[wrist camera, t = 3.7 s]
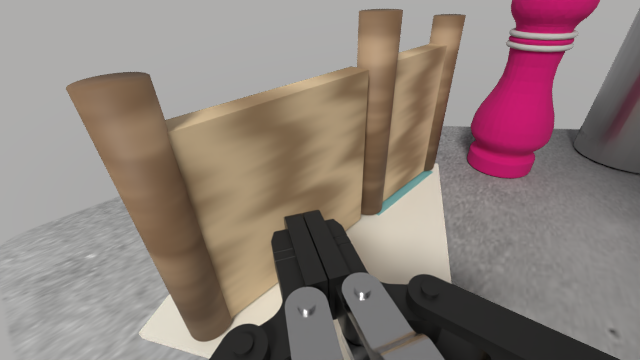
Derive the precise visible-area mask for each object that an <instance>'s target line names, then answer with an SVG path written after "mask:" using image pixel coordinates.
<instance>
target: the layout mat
mask: <svg viewBox="0 0 640 360" xmlns="http://www.w3.org/2000/svg"><path fill="white" fill-rule="evenodd" d="M345 232H346V234H347V236H348V237H349V239H350V241H351V243H352V244H353V246H354V248H355V250H356V252H357V254H358V255H359V257H360V259H361V261H362V263H363V264H364V266H365V268H366V270H367V271H368V273H369V274H371V275H373V276H374V277H376V278H377V279H378V280H379V281H380V282H383V283H388V284H408V283H409V281H410V280H411V278H413V277H414V276H416V275H420V274H429V275H433V276H435V277H438V278H440V279H442V280H444V281H446V282H449V283H451V275H450V266H449V257H448V248H447V239H446V230H445V221H444V212H443V204H442V195H441V186H440V177H439V168H438V164H434V168H433V169H432V170H429V171H423V172H421V173H420V174H419V175H417V176H416V177H415V178H413V179H412V180H411V181H410V182H408V183H407V184H406V185H404V186H403V187H402V188H400V189H399V190H398V191H396V192H395V193H394V194H393V195H391V196H390V197H389V198H387V199H386V200H385V201H383V203H382V209H381V211H380V212H379V213H377V214H374V215H363V214H361V218H360V220H359V221H357V222H356V223H355V224H353V225H352V226H351V227H349V228H348V229H347V230H346V231H345ZM281 304H282V297H281V292H280V287H279V283H276V284H275V285H274V286H272V287H271V288H270V289H268V290H267V291H266V292H265V293H263V294H262V295H261V296H259V297H258V298H257V299H255V300H254V301H253V302H251V303H250V304H249V305H248V306H246V307H245V308H244V309H242V310H241V311H240V312H238V313H237V314H236V315H234V316H233V317H232V318H231V321H230V324H229V326H228V328H227V329H226V331H225V332H224V333H223V334H222V335H220V336H219V337H218V338H216V339H214V340H211V341H207V342H200V341H197V340H195V339H194V338H192V336H191V335H190V333H189V331H188V329H187V327H186V325H185V323H184V321H183V319H182V317H181V315H180V313H179V311H178V309H177V307H176V305H175V303H174V301H173V299H172V297H171V295H170V294H169V295H168V297H167V298H166V299H165V300H164V302H163V303H162V304H161V305H160V307H159V308H158V309H157V310H156V312H155V313H154V314H153V316H152V317H151V318H150V319H149V321H148V322H147V323H146V324H145V326H144V327H143V328H142V329H141V331H140V332H139V334H140V336H141V337H142V339H146V340H149V341H152V342H156V343H159V344H162V345H166V346H169V347H172V348H176V349H179V350H182V351H186V352H189V353H192V354H196V355H199V356H202V357H206V358H209V359H210V357H211V356H212V354H213V353H214V351H215V350H216V348H217V347H218V345H219V344H220V342H221V341H222V339H223V338H224V337H225V335H226V334H227V333H228V332H229V331H230V330H232V329H233V328H235V327H237V326H239V325H242V324H248V323H249V324H255V325H258V326H260V325H261V324H263V323H264V322H266V321H268V320H269V319H270V318H272V317H273V316H274V315H275V314H276V313H277V312H278V310H279V309H280V307H281ZM333 322H334V326H335V330H336V333H337V337H338V341H339V344H340V348H341V351H342V355H343V358H344V360H351V359H350V357H349V355H348V353H347V350H346V348H345V346H344V344H343V341H342V338H341V327H340V325H339V322H338V319H336V320H333Z"/></svg>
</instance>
